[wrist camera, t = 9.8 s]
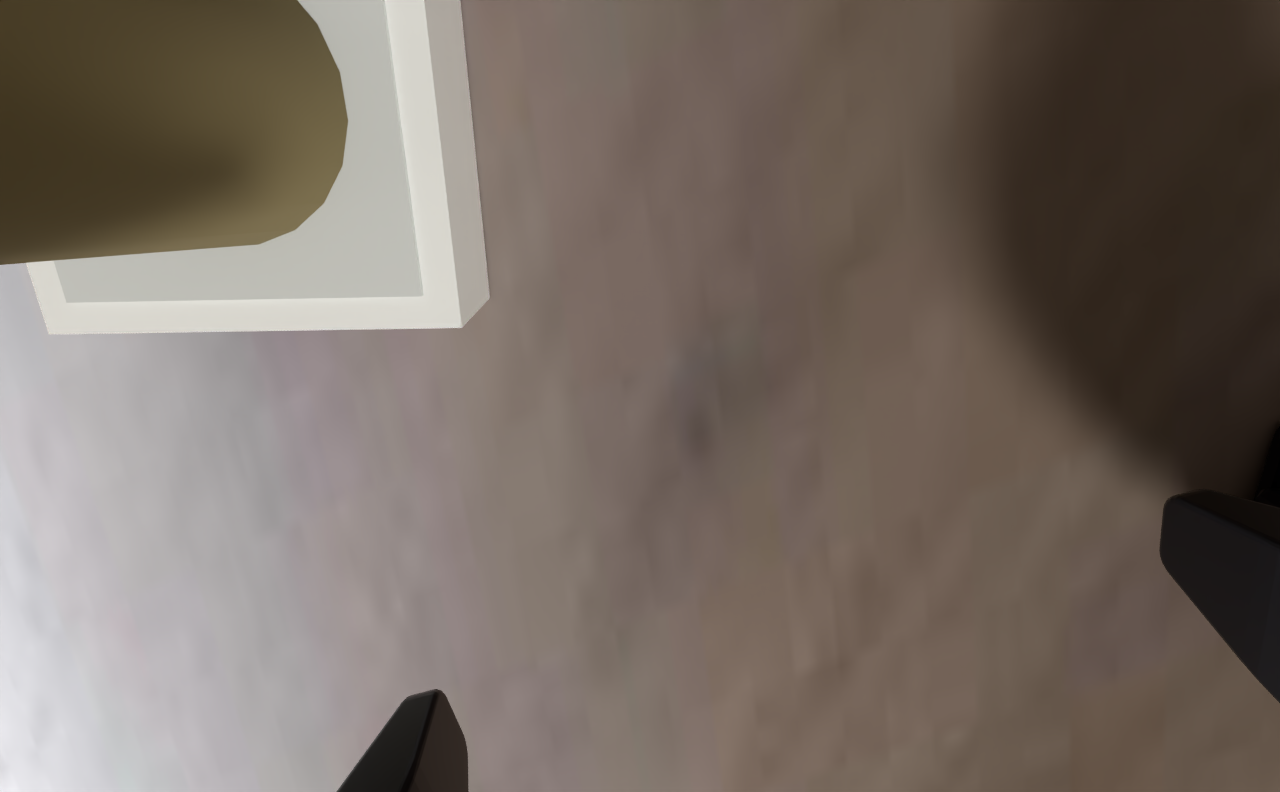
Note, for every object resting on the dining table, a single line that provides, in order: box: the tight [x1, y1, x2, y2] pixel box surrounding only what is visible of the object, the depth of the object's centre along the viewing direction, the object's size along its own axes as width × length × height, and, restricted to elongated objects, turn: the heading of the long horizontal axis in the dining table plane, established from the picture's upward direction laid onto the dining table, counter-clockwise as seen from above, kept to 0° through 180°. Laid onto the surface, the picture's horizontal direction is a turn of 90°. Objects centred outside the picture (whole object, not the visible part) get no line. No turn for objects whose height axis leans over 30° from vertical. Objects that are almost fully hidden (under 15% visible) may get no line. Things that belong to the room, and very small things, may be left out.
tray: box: [26, 0, 490, 334], centre depth 17 cm, size 10×10×3 cm
